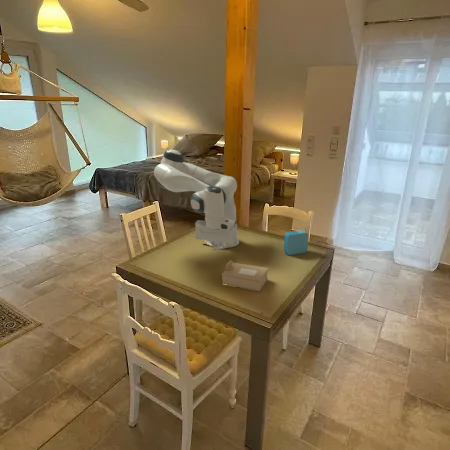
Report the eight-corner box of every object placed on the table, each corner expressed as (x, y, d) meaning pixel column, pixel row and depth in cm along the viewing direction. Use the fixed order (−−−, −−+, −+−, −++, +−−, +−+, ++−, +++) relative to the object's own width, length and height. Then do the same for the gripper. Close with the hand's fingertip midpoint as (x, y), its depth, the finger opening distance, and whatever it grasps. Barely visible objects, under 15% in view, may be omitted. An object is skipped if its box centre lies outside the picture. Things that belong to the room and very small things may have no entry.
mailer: (222, 284, 164) (222, 275, 162) (232, 273, 174) (232, 264, 172) (259, 291, 157) (259, 282, 155) (267, 279, 167) (267, 269, 165)
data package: (303, 249, 197) (304, 229, 193) (307, 252, 193) (308, 232, 189) (283, 252, 194) (284, 232, 190) (287, 255, 190) (287, 235, 186)
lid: (221, 275, 162) (221, 268, 160) (231, 263, 172) (231, 256, 171) (259, 281, 155) (259, 274, 153) (267, 269, 165) (268, 262, 164)
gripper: (191, 221, 162) (193, 249, 167) (232, 226, 154) (233, 255, 159) (198, 217, 167) (200, 244, 172) (238, 222, 159) (238, 249, 164)
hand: (216, 249), depth 165 cm, fingers closed
